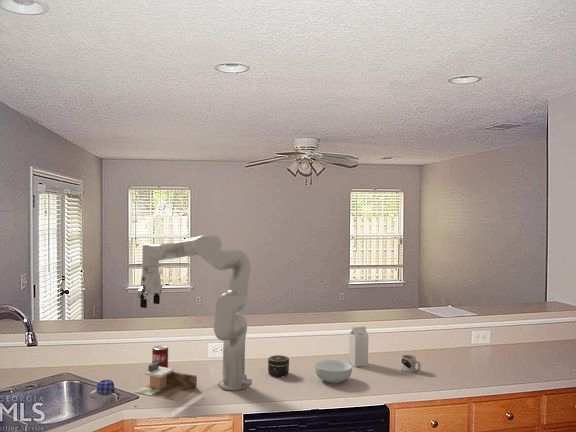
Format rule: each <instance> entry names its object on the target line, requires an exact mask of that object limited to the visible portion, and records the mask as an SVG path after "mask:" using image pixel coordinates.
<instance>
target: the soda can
mask: <svg viewBox="0 0 576 432" xmlns="http://www.w3.org/2000/svg"><path fill="white" fill-rule="evenodd" d="M151 352H152V353H151V364H153V363H155V362H159V366H160V367H166V368H169V347H168V346H167V345H156V346H153V348H152V350H151Z"/></svg>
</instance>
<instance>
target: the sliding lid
mask: <svg viewBox="0 0 576 432" xmlns="http://www.w3.org/2000/svg"><path fill="white" fill-rule="evenodd" d="M171 372H175V369H174V368H171V367H168V368H166V367H160V366H159V362H155V363H153V364H152V363H150V364H148V371H146V372H145V376H148V377H150V376H154V377H160V378H162V377H164V376H166V375H168V374H169V373H171Z"/></svg>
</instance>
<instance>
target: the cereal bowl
mask: <svg viewBox="0 0 576 432" xmlns="http://www.w3.org/2000/svg"><path fill="white" fill-rule="evenodd" d="M352 371H353V365H352V364H350V363H349V362H347V361H343V360H337V359H336V360H335V359H327V360H320V361H318V362H316V363H315V364H314V372H315V374H316V376H317V377H318V378H319V379H321V380H323V381H325V382H326V383H328V382H329V383H328V384H339V383H342V382H343V381H346V380H347V379H349V378H350V377H351V375H352V373H353V372H352Z"/></svg>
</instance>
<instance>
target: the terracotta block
mask: <svg viewBox="0 0 576 432" xmlns="http://www.w3.org/2000/svg"><path fill="white" fill-rule="evenodd" d="M149 384H150V388H154V389H159V390H160V389H161V388H163V387H165V386H167V375H166V376H164V377H162V378H160V377H154V376H149Z"/></svg>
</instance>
